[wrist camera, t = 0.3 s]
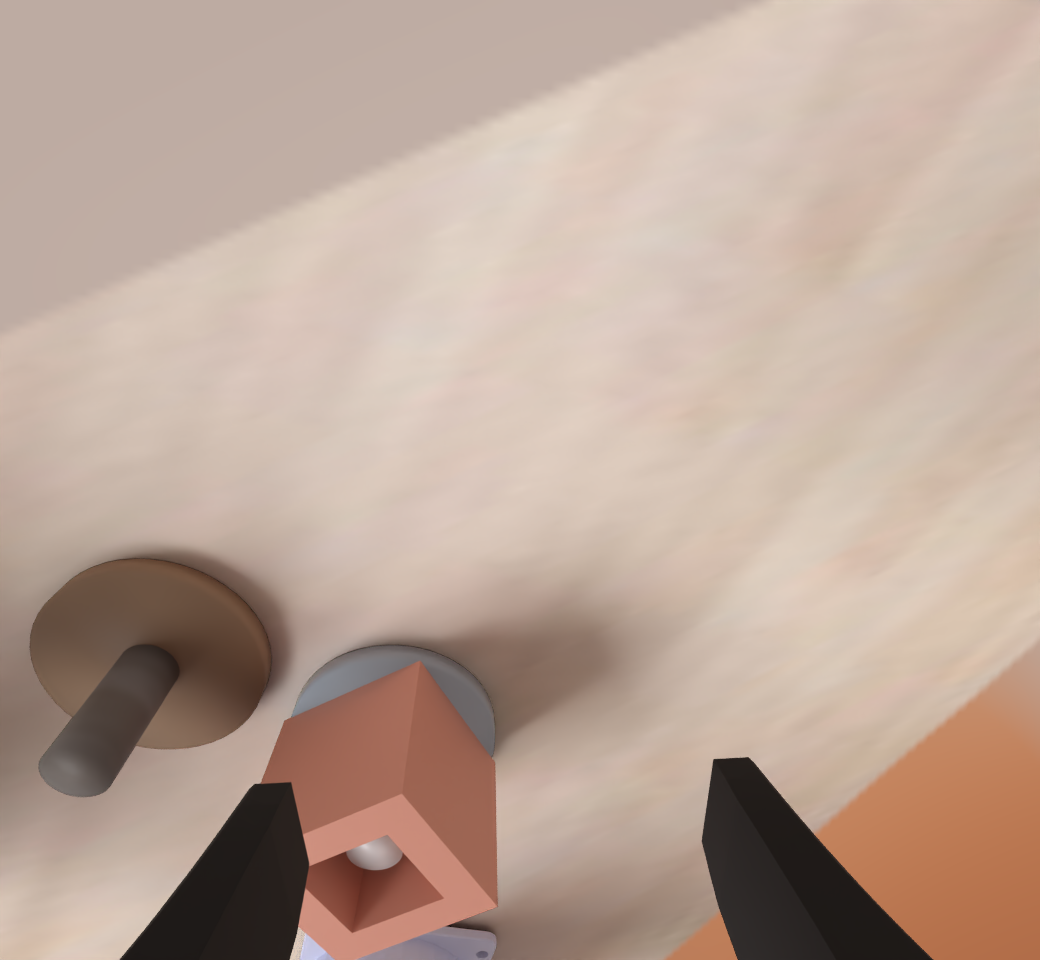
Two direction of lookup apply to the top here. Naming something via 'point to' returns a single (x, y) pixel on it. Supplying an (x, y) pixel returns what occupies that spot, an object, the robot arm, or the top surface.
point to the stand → (377, 664)
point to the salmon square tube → (390, 812)
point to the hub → (143, 666)
